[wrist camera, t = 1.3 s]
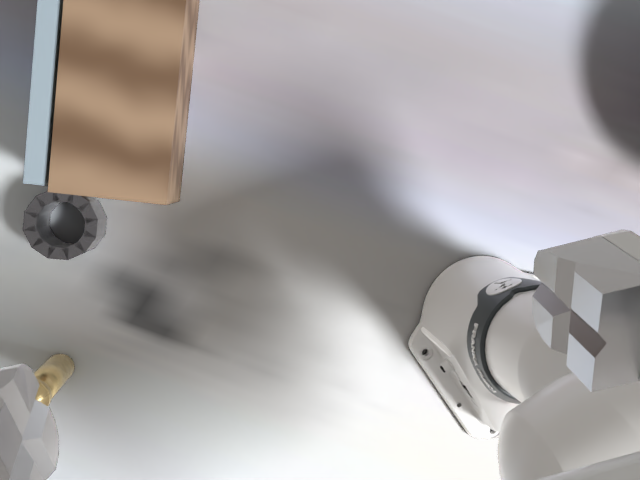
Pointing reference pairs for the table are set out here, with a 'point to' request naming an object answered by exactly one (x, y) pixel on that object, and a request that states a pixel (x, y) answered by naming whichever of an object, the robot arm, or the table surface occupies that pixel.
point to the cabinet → (123, 99)
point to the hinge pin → (53, 376)
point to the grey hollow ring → (42, 234)
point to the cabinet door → (43, 92)
